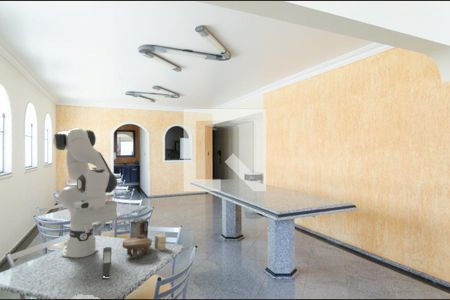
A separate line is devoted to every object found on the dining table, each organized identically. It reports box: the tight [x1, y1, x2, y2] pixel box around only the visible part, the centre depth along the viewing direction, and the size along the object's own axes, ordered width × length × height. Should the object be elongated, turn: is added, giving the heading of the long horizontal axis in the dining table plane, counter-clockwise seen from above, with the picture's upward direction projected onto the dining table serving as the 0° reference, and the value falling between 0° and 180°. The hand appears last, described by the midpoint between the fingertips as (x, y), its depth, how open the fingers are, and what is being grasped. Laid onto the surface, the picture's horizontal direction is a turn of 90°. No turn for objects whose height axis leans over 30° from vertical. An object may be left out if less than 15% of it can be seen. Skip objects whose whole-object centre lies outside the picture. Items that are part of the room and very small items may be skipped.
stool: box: [122, 237, 153, 261], centre depth 160 cm, size 16×16×8 cm
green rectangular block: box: [102, 246, 113, 277], centre depth 138 cm, size 20×4×8 cm, turn 22°
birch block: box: [154, 234, 167, 252], centre depth 173 cm, size 5×5×8 cm
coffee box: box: [129, 218, 149, 238], centre depth 175 cm, size 9×6×16 cm
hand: (94, 231), depth 132 cm, fingers open, 5 cm apart
